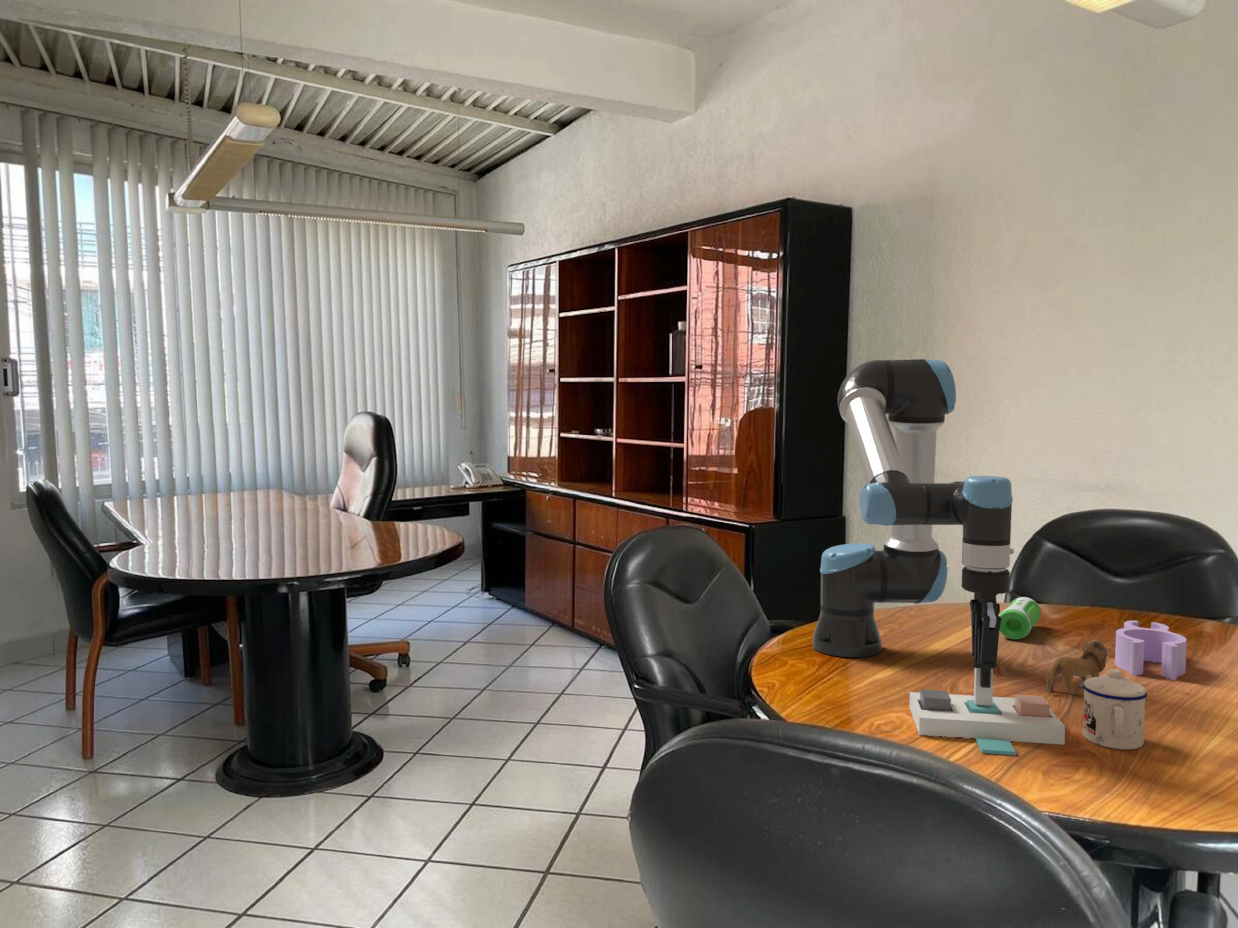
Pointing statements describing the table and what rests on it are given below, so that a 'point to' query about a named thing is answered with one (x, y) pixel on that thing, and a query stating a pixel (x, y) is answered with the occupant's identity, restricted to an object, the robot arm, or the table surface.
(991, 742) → the tile
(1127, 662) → the clip
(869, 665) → the table surface
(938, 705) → the charcoal button
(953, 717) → the button board
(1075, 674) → the lion figurine
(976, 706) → the teal button
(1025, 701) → the terracotta button
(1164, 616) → the table surface
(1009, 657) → the table surface
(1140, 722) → the teacup with lid
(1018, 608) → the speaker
